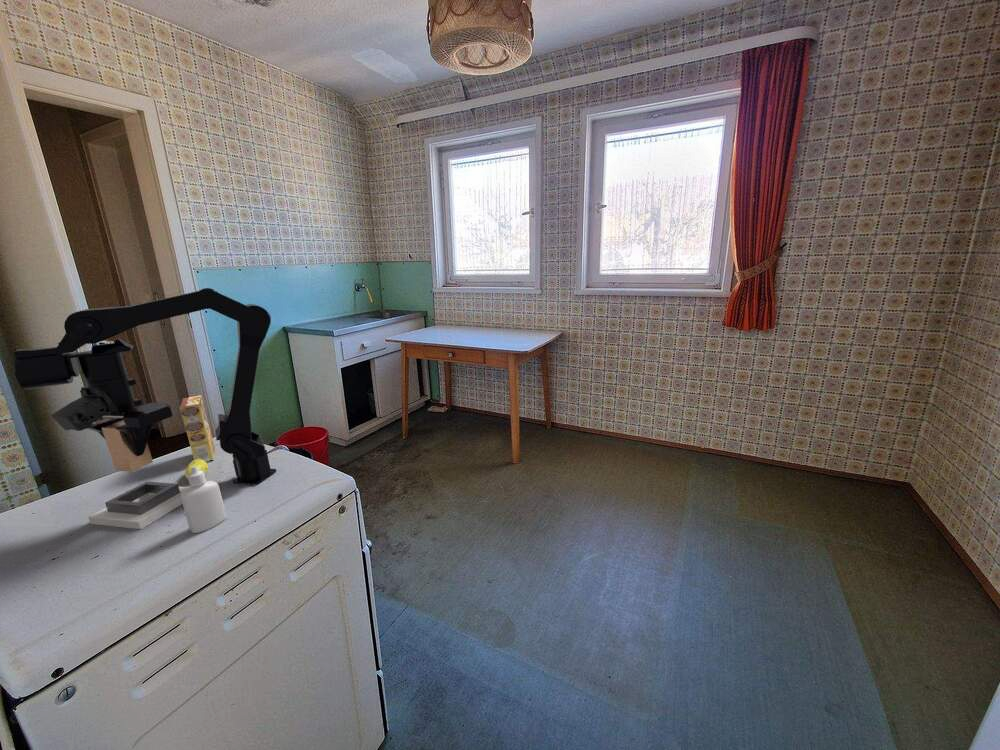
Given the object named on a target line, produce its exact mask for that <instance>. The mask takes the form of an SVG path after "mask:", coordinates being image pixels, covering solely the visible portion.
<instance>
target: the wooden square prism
mask: <svg viewBox="0 0 1000 750" xmlns="http://www.w3.org/2000/svg"><path fill="white" fill-rule="evenodd" d="M123 425H125V423H124V420H122V421H119V422H116V423H113V424H111V425H108V426H105V427H102V431H103V434H104V437H105V439H104V440H105V442H106V446H107V449H108V453H109V454H110V457H111V461H112V464H113V466H114V470H115V472H122V473H123V472H126V473H133V472H136V471H138V470H141V469H142V468H144V467H147V466H149V465H150V464H152V463H154V460H153V457H152V454H151V451H150V447H149V444H148V442H147V444H146V448H145V451H144V454H143V455H140V456H136V454H135V453H134V451H133V449H132V447H131V444H130V442H129V440H128V438H127V435H126V434H125V433H124V432H121V431H119V430H117V429H115V428H117V427H120V426H123Z"/></svg>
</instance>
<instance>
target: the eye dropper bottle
mask: <svg viewBox="0 0 1000 750" xmlns="http://www.w3.org/2000/svg"><path fill="white" fill-rule="evenodd" d="M205 475H206V473H205V474H204V471H199V470H198V469H197V467H196V466H193V467H191V473H190V474H189V475H188V476H187V477H188V479H187V481H188V483H189V486H188V487H189V488H188V489H186V490H185V491H184V492H183V493H182V495H181V499H182V503H183V504H182V505H183V506H182V507H183V510H184V514H185V517H186V521H187V524H188V529H189V531H191V532H192V533H193V534H199V533H203V532H205V531H208V530H210V529H212V528H214V527H216V526H218V525H220V524H221V523H223V522H224V521H225V520H226V519H227V513H226V508H225V505H224V501H223V497H222V494H221V490H220V486H219V483H217V482H216V481H214V480H207V479H206V476H205Z"/></svg>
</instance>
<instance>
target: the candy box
mask: <svg viewBox="0 0 1000 750" xmlns="http://www.w3.org/2000/svg"><path fill="white" fill-rule="evenodd" d="M179 411H180V415H181V418H182V421H183V426H184V428H185V431H186V435H187V439H188V442H189V445H190V449H191V453H192V456H193V460H196V459H202V460H204V461H209V462H211V461H210V460H213V461H214V460H215V456H214V455H215V452H216V447H215V443H214V440H213V436H212V432H211V428H210V424H209V420H208V417H207V412H206V409H205V405H204V401H203V398H202V395H195V396H189V397H183V398H182V401H181V403H180V406H179Z"/></svg>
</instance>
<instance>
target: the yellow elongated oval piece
mask: <svg viewBox="0 0 1000 750" xmlns="http://www.w3.org/2000/svg"><path fill="white" fill-rule="evenodd" d="M193 466H196V467H197V469H198V470H199V471H204V474H205V475H206V473H207V472H208V470H209V465H208V462H205V461H204V460H202V459H196V460H194V459H193V460H192V461H191V462H189V464H188V466H187V467H186V470H185V473H184V476H185V478H186V479H187V480H188V477H187V476H188V475H189V474H190V473H191V467H193Z"/></svg>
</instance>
